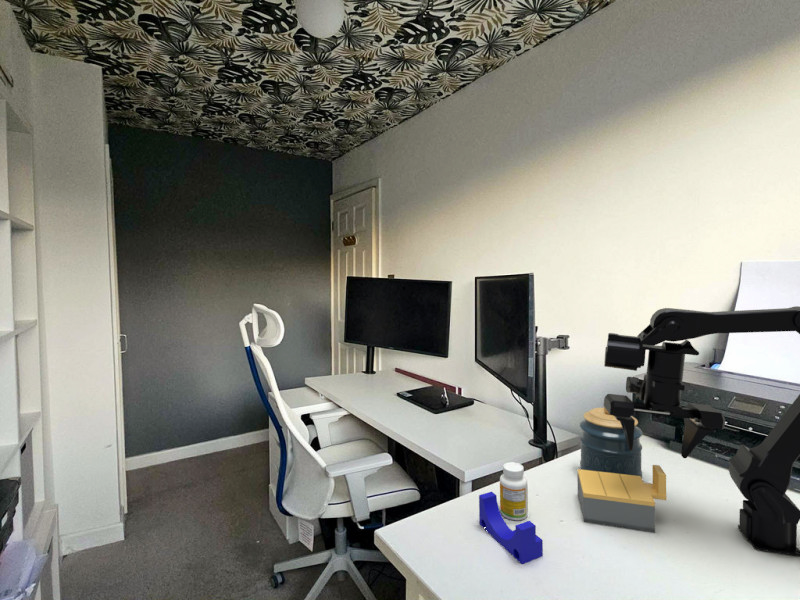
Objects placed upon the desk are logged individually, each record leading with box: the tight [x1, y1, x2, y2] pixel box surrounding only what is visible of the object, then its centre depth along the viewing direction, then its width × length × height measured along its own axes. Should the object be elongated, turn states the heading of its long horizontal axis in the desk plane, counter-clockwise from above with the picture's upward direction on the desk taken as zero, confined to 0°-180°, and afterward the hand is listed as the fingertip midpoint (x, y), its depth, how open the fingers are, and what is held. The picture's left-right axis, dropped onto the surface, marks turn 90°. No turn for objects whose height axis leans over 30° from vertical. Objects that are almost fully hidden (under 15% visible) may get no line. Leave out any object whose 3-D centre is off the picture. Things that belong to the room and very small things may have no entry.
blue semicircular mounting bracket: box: [478, 491, 544, 565], centre depth 72 cm, size 12×4×6 cm, turn 24°
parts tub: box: [577, 476, 656, 534], centre depth 79 cm, size 12×10×5 cm
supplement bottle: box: [499, 461, 529, 521], centre depth 79 cm, size 5×5×10 cm
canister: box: [579, 406, 643, 479], centre depth 93 cm, size 13×13×18 cm
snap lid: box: [577, 464, 667, 508], centre depth 78 cm, size 15×10×6 cm
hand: (656, 453), depth 76 cm, fingers open, 9 cm apart
